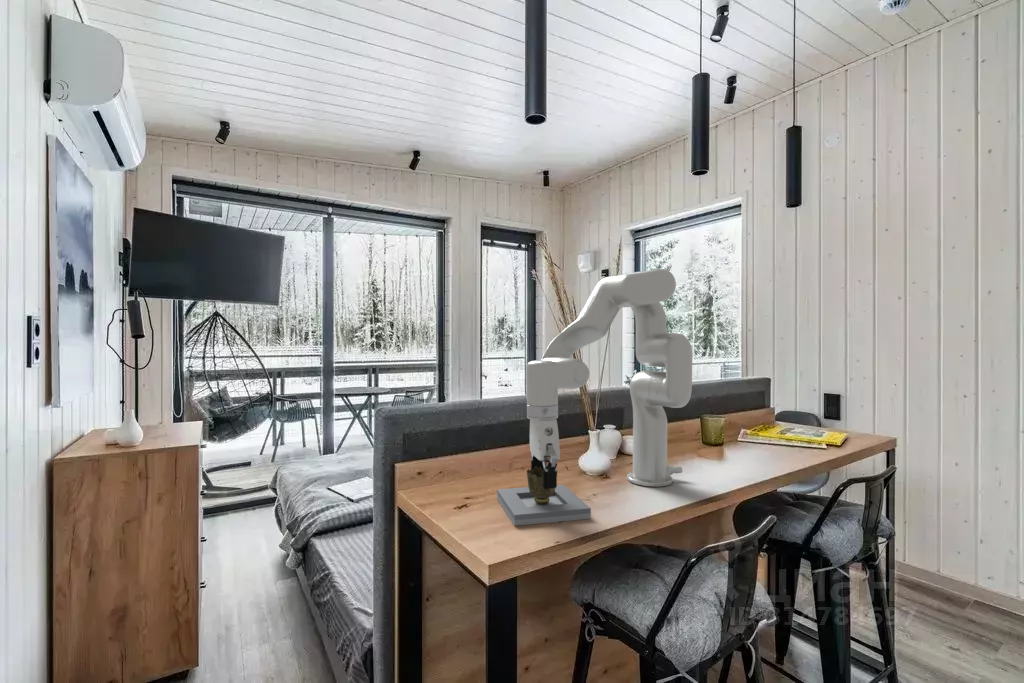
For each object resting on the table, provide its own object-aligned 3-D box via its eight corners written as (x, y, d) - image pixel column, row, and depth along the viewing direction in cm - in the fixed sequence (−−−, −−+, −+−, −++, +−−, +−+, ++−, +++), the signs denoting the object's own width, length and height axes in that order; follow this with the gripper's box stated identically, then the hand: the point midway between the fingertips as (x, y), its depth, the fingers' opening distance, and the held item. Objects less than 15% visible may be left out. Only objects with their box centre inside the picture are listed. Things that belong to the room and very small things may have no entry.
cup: (559, 499, 121) (560, 467, 121) (554, 509, 114) (554, 475, 114) (530, 496, 123) (530, 464, 123) (523, 506, 116) (523, 473, 116)
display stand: (563, 493, 129) (563, 484, 129) (590, 518, 112) (590, 508, 112) (497, 498, 125) (497, 489, 125) (514, 525, 107) (514, 515, 107)
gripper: (569, 416, 110) (570, 491, 111) (546, 405, 127) (547, 470, 128) (538, 419, 109) (539, 495, 109) (518, 406, 125) (519, 472, 126)
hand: (543, 481), depth 118 cm, fingers open, 9 cm apart
